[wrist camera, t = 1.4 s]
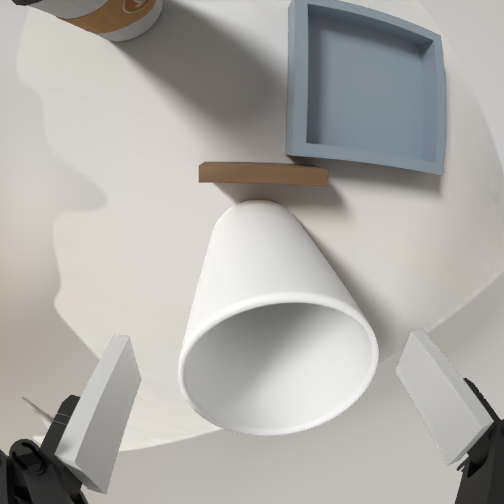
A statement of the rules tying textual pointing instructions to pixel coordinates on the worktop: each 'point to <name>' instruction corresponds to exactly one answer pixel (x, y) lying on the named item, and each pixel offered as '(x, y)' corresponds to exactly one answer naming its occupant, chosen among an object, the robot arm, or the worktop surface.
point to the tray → (364, 87)
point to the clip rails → (262, 173)
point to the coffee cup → (104, 15)
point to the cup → (272, 329)
